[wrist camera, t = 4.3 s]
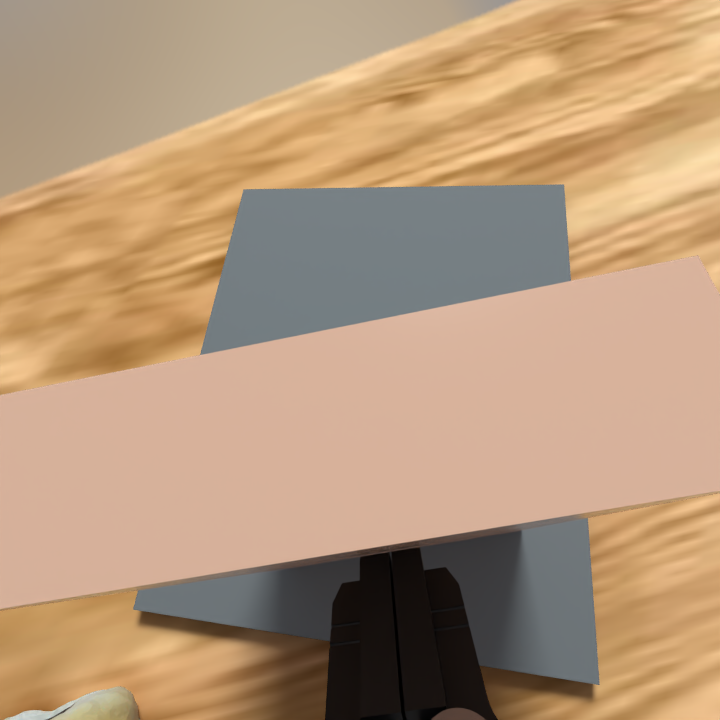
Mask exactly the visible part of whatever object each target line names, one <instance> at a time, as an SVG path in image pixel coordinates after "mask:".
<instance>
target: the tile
mask: <svg viewBox="0 0 720 720" xmlns="http://www.w3.org/2000/svg"><path fill="white" fill-rule="evenodd" d="M718 493H720V294H719V292H718V291H717V289H716V287H715V285H714V283H713V282H712V280H711V278H710V276H709V274H708V272H707V271H706V269H705V267H704V265H703V263H702V262H701V260H700V258H699V256H693V257H688V258H683V259H678V260H673V261H668V262H663V263H658V264H653V265H648V266H643V267H638V268H633V269H628V270H623V271H618V272H613V273H608V274H603V275H598V276H593V277H588V278H583V279H578V280H573V281H568V282H563V283H558V284H553V285H548V286H543V287H538V288H533V289H528V290H523V291H518V292H513V293H508V294H503V295H498V296H493V297H488V298H483V299H478V300H473V301H468V302H463V303H458V304H453V305H448V306H443V307H438V308H433V309H428V310H423V311H418V312H413V313H408V314H403V315H398V316H393V317H388V318H383V319H378V320H373V321H368V322H363V323H358V324H353V325H348V326H343V327H338V328H333V329H328V330H323V331H318V332H313V333H308V334H303V335H298V336H293V337H288V338H283V339H278V340H273V341H268V342H263V343H258V344H253V345H248V346H243V347H238V348H233V349H228V350H223V351H218V352H213V353H208V354H203V355H198V356H193V357H188V358H183V359H178V360H173V361H168V362H163V363H158V364H153V365H148V366H143V367H138V368H133V369H128V370H123V371H118V372H113V373H108V374H103V375H98V376H93V377H88V378H83V379H78V380H73V381H68V382H63V383H58V384H53V385H48V386H43V387H38V388H33V389H28V390H23V391H18V392H13V393H8V394H3V395H0V611H1V610H8V609H15V608H22V607H29V606H36V605H42V604H49V603H56V602H63V601H70V600H77V599H83V598H90V597H97V596H104V595H111V594H117V593H124V592H131V591H138V590H145V589H152V588H158V587H165V586H172V585H179V584H186V583H193V582H199V581H206V580H213V579H220V578H227V577H234V576H240V575H247V574H254V573H261V572H268V571H275V570H281V569H288V568H294V567H300V566H307V565H313V564H319V563H325V562H331V561H337V560H343V559H349V558H356V557H361V556H367V555H373V554H379V553H386V552H391V551H397V550H404V549H410V548H416V547H423V546H429V545H435V544H441V543H448V542H454V541H460V540H466V539H472V538H478V537H484V536H491V535H497V534H503V533H509V532H515V531H521V530H527V529H532V528H537V527H543V526H548V525H553V524H558V523H564V522H569V521H574V520H580V519H585V518H590V517H596V516H601V515H606V514H612V513H617V512H622V511H628V510H633V509H638V508H644V507H649V506H654V505H659V504H665V503H670V502H675V501H681V500H686V499H691V498H697V497H702V496H707V495H713V494H718Z"/></svg>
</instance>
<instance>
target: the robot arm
mask: <svg viewBox="0 0 720 720" xmlns="http://www.w3.org/2000/svg"><path fill="white" fill-rule="evenodd" d="M391 559H392V560H391ZM325 720H498V719H497V718H496V716H495V714H494V713H493V711H492V709H491V707H490V704H489V701H488V698H487V694H486V690H485V686H484V682H483V678H482V674H481V670H480V666H479V662H478V658H477V654H476V650H475V646H474V642H473V638H472V634H471V630H470V627H469V622H468V618H467V614H466V610H465V606H464V602H463V598H462V594H461V590H460V586H459V583H458V582H457V581H456V579H455V578H454V577H453V576H452V574H451V573H450V572H449V570H448V569H447V568H446V567H442V568H435V569H429V570H424V564H423V559H422V554H421V549H420V547H416V548H410V549H404V550H397V551H391V556H390V553H389V552H386V553H379V554H373V555H367V556H361V557H360V580H359V581H352V582H346V583H342V584H341V586H340V588H339V590H338V592H337V595H336V597H335V599H334V601H333V603H332V618H331V634H330V650H329V667H328V683H327V699H326V715H325Z"/></svg>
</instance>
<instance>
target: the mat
mask: <svg viewBox="0 0 720 720" xmlns="http://www.w3.org/2000/svg"><path fill="white" fill-rule="evenodd" d="M568 281H571V277H570V263H569V249H568V235H567V221H566V207H565V193H564V185H507V186H442V187H377V188H312V189H247V190H243V194H242V198H241V202H240V206H239V209H238V213H237V217H236V221H235V225H234V228H233V232H232V236H231V240H230V244H229V247H228V251H227V255H226V259H225V263H224V266H223V270H222V274H221V278H220V282H219V285H218V289H217V293H216V297H215V301H214V304H213V308H212V312H211V316H210V320H209V323H208V327H207V331H206V335H205V339H204V342H203V346H202V350H201V354H200V355H203V354H208V353H213V352H218V351H223V350H228V349H233V348H238V347H243V346H248V345H253V344H258V343H263V342H268V341H273V340H278V339H283V338H288V337H293V336H298V335H303V334H308V333H313V332H318V331H323V330H328V329H333V328H338V327H343V326H348V325H353V324H358V323H363V322H368V321H373V320H378V319H383V318H388V317H393V316H398V315H403V314H408V313H413V312H418V311H423V310H428V309H433V308H438V307H443V306H448V305H453V304H458V303H463V302H468V301H473V300H478V299H483V298H488V297H493V296H498V295H503V294H508V293H513V292H518V291H523V290H528V289H533V288H538V287H543V286H548V285H553V284H558V283H563V282H568ZM420 549H421V554H422V559H423V564H424V570H429V569H435V568H442V567H446V568H447V569H448V570H449V572H450V573H451V574H452V576H453V577H454V578H455V579H456V581H457V582H458V583H459V586H460V590H461V594H462V598H463V602H464V606H465V610H466V614H467V618H468V622H469V627H470V630H471V634H472V638H473V642H474V646H475V650H476V654H477V658H478V662H479V665H480V666H486V667H492V668H498V669H504V670H510V671H517V672H523V673H529V674H535V675H541V676H548V677H554V678H560V679H566V680H572V681H578V682H585V683H591V684H597V685H599V671H598V657H597V643H596V629H595V615H594V601H593V587H592V573H591V559H590V544H589V530H588V518H585V519H580V520H574V521H569V522H564V523H558V524H553V525H548V526H543V527H537V528H532V529H527V530H521V531H515V532H509V533H503V534H497V535H491V536H484V537H478V538H472V539H466V540H460V541H454V542H448V543H441V544H435V545H429V546H423V547H420ZM389 553H390V556H391V552H389ZM391 560H392V559H391ZM359 580H360V557H356V558H349V559H343V560H337V561H331V562H325V563H319V564H313V565H307V566H300V567H294V568H288V569H281V570H275V571H268V572H261V573H254V574H247V575H240V576H234V577H227V578H220V579H213V580H206V581H199V582H193V583H186V584H179V585H172V586H165V587H158V588H152V589H145V590H138V593H137V597H136V601H135V605H134V608H133V610H139V611H146V612H152V613H158V614H164V615H170V616H177V617H183V618H189V619H195V620H201V621H207V622H214V623H220V624H226V625H232V626H238V627H245V628H251V629H257V630H263V631H269V632H275V633H282V634H288V635H294V636H300V637H306V638H313V639H319V640H325V641H330V634H331V618H332V603H333V601H334V599H335V597H336V595H337V592H338V590H339V588H340V586H341V584H342V583H346V582H352V581H359Z"/></svg>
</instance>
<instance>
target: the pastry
mask: <svg viewBox="0 0 720 720" xmlns="http://www.w3.org/2000/svg"><path fill="white" fill-rule="evenodd" d="M5 720H140V718H139V715H138V706H137V703H136V702H135V699H134V696H133V694H132V693H131V692H130V691H129V690H127V689H126V688H124V687H114V688H111V689H107V690H99V691H95V692H92V693H89V694H86V695H84V696H82V697H80V698H78V699H76V700H74V701H71V702H68V703H67V704H65V705H63V706H61V707H59V708H57V709H56V710H54V711H41V710H31V711H25V712H22V713H20V714H18V715H16V716H14V717H9V718H6V719H5Z"/></svg>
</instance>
